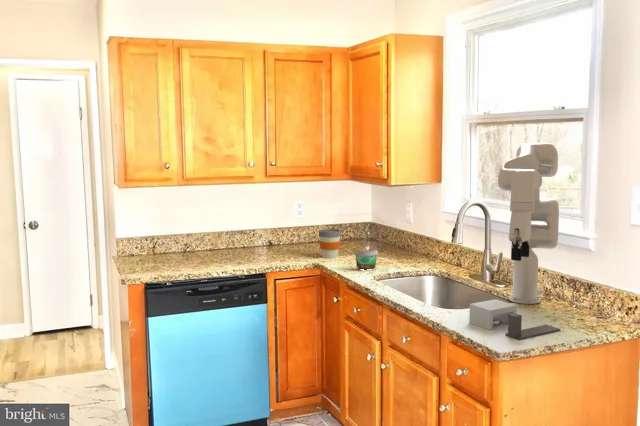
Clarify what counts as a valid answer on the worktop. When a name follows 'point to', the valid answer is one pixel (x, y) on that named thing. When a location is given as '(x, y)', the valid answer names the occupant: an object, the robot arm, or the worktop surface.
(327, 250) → the reusable coffee cup
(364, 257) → the food container
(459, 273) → the worktop surface
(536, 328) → the scraper
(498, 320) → the steel token
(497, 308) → the grey footstool block
